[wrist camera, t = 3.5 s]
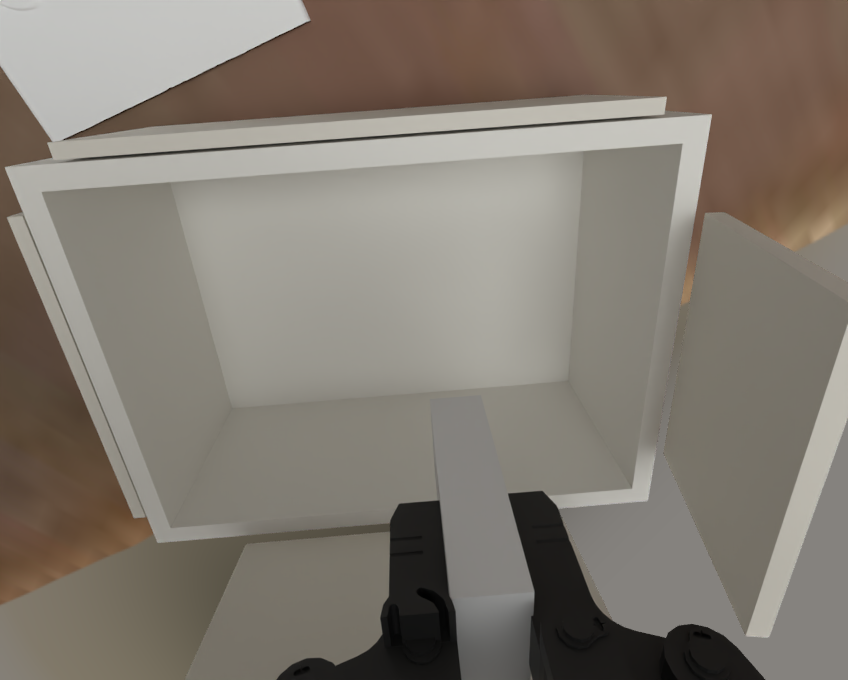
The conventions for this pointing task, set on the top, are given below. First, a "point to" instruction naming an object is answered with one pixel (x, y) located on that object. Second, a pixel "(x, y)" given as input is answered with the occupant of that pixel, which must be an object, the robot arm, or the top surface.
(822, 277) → the end flap
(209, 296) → the carton
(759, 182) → the top surface
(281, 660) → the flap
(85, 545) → the top surface
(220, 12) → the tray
